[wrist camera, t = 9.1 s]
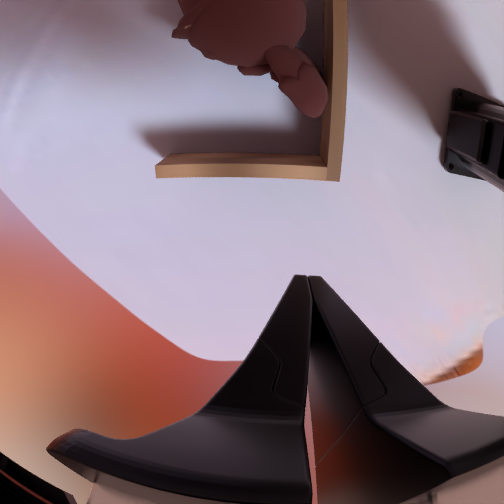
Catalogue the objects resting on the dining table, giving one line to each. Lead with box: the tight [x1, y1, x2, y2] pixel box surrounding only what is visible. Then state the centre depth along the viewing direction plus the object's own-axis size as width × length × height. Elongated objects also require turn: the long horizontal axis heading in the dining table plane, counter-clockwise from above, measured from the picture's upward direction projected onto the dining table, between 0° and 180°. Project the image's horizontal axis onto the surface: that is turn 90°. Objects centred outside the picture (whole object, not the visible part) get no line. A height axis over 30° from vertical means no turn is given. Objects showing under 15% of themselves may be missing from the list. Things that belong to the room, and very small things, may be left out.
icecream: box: [172, 0, 328, 118], centre depth 11 cm, size 7×7×15 cm
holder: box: [155, 0, 348, 182], centre depth 12 cm, size 11×20×3 cm, turn 0°
